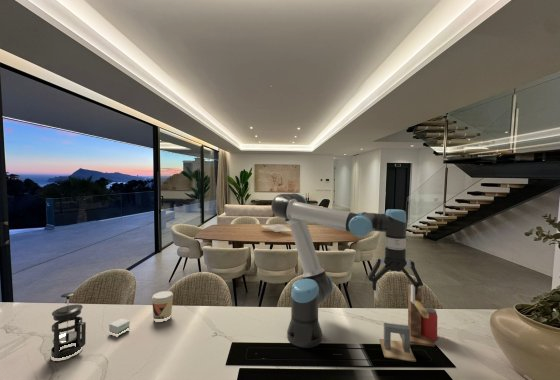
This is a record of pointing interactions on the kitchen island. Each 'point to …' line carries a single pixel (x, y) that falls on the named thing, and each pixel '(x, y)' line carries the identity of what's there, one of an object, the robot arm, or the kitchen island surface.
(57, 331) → the french press
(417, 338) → the stand
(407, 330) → the gray arch block
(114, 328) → the small box
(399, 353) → the coaster
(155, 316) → the coffee cup
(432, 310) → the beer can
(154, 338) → the kitchen island surface
